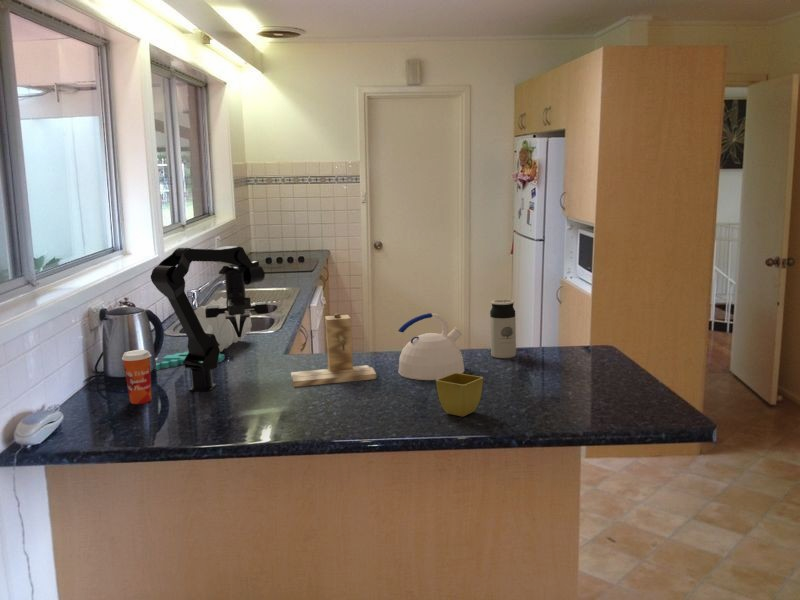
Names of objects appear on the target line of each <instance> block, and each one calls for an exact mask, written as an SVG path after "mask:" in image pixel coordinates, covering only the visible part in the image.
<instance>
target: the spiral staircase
mask: <svg viewBox="0 0 800 600" xmlns="http://www.w3.org/2000/svg"><path fill="white" fill-rule="evenodd" d="M226 301H227V297H226V298H224V297H223V296H221V297H219V298H218V299H217V300H215V299H212V300H211V301H210V302H209V303H207V304H206V305H205V306H204V305H200V306H199V307H197V308H196V309H195V310H194V312H195V314H196V316H197V318H198V320H199V322H200V324H201V326H202V328H203V330H204V332H205V333H208V334H214V335H215V337H216V340H217V342H218V343H219V344H220V346H218V347H219V349H220V353H222V352H223V351H224V350H227V349H228V348H229V347H230V346H231V345H232V344H233V343H238V341H239V340H242V339H244V337H245V336H246V334H247V333H251V328H252V326H253V325H252V320H251V316H253V315H252V313H251V312H250V317H247V318H246V320H245V322H244V325H243V330H242V334H241V337H238V336H237V334H236V331H235V329H234V327H233V325H232V323H231V321H230V320H229V319H225V316H226V315H225V314H219V315H218V316H217V317H213V318H206V314H205V310H206V308H207V306H215V305H219V308H226V307H227V303H226ZM236 319H237V324H238V329H239V326H240V314H238V315H236Z"/></svg>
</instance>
